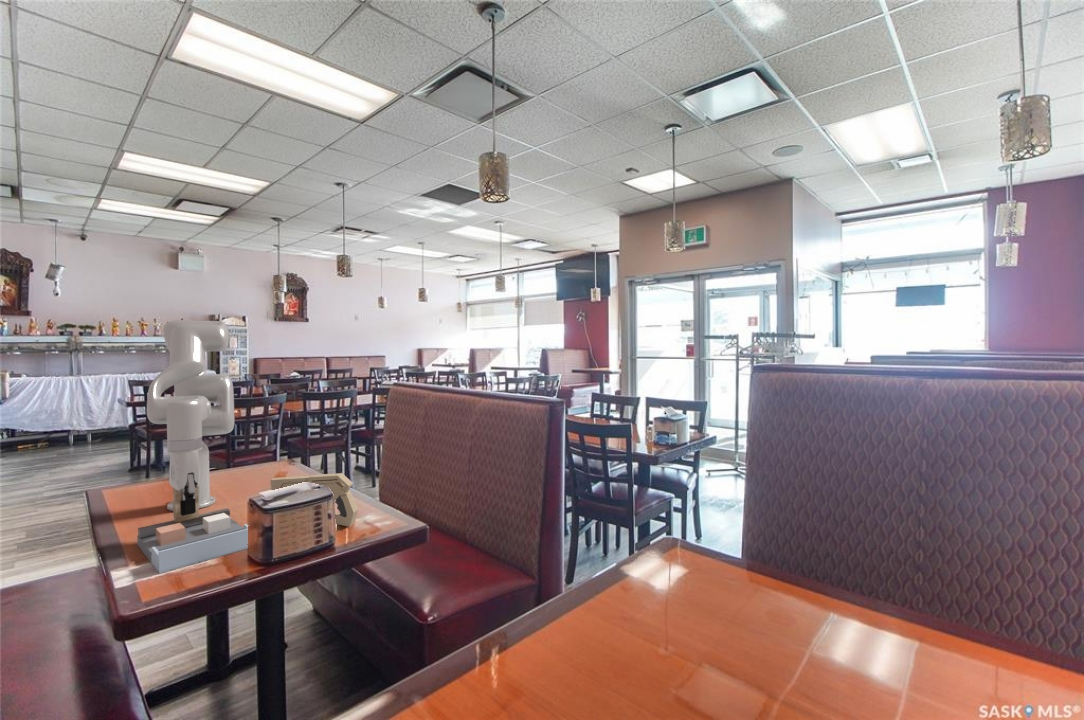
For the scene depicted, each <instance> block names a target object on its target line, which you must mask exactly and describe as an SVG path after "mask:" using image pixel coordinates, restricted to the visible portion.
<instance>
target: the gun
mask: <svg viewBox="0 0 1084 720" xmlns="http://www.w3.org/2000/svg"><path fill="white" fill-rule="evenodd" d="M269 482H270V489H271V490H275V489H279V488H283V487H287V486H291V485H294V484H298V483H302V482H310V483H315V484H319V485H324V486H327V487H329V488H330V489H331V491H332V492H333V494H334V500H333V501H335V502H334V503H335V504H337V506H336V507H337V508H336V509H337V510H338V511H339V512H337V513H334V514H335V519H336V524H335V525H338V526H344V527H347V528H349V527H352V526H353V525H354V524H355V522H356V518H357V515H358V511H359V509H358V506H357V504H356V500H355V499H354V496H353V493H352V492H351V491H350V489H351V488H352V486H353V485H354V483H353V482H352V481H351V480H350V478H348V477H347V476H346V475H345V474H344V473H343V472H340V473H324V474H314V475H301V476H299V475H298V476H285V477H284V476H283V477H282V476H281V477H275V478H272V479H270V481H269Z"/></svg>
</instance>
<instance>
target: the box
mask: <svg viewBox="0 0 1084 720" xmlns="http://www.w3.org/2000/svg"><path fill="white" fill-rule="evenodd" d="M248 526H249V525H248V524H247V523H244V524H243V527H244V530H240V531H236V532H232V533H228V534H224V535H220V536H217V537H213V538H209V539H205V540H201V541H197V542H193V543H189V544H185V545H181V546H177V547H174V548H170V549H166V550H162V551H158V550H157V549H156V547H152V555H151V562H150V563H151V565H152V566H153V568H154V569H155V570H156V572H157V573H158V574H164V573H167V572H171V571H174V570H177V569H181V568H185V567H189V566H193V565H197V564H199V563H203V562H205V561H209V560H214V559H217V558H221V557H223V556H227V555H231V554H234V553H237V552H241V551H244V550H248V545H247V544H248Z"/></svg>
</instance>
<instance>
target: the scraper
mask: <svg viewBox="0 0 1084 720" xmlns="http://www.w3.org/2000/svg"><path fill="white" fill-rule="evenodd" d="M184 488H188V486H185V487H184ZM186 492H188V491H185V493H186ZM172 501H173V511H172V512H173V513H172V515H173V520H169V521H164V522H159V523H156V524H151V525H146V526H141V527H138V528H137V530H138V531H137V534H138V535H137V536H139V537H140V538H142V537H146V536H150V535H154V534H156V528H159V527H164V526H168V525H172V524H177V523H181V524H182V525H183V526H184V527H188V526H193V525H197V524H201V523H203V517H208V516H212V515H217V514H221V513H225V514H226V515H228V516H229V517H230V518H231V510H230V509H229V508H228V507H227V508H223V509H219V510H218V509H217V510H213V511H209V512H204V513H200V508H199V491H198V487H197V488H196V487H195V505H196V512H195V513H193V514H188V515H184V516H182V515H181V504H180V501H182V491H181V490H180V491H178V490H176V489H174V488H173V487H172Z"/></svg>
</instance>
